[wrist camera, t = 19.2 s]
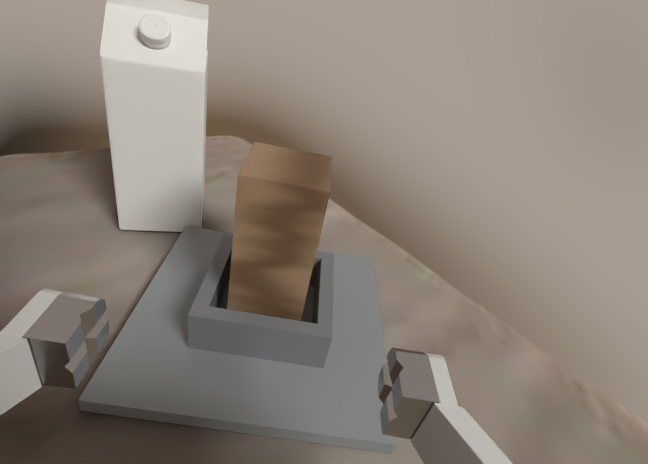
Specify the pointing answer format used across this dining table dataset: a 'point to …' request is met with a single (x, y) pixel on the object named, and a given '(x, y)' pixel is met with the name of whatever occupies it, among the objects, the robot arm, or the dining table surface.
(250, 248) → the walnut block
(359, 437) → the socket base
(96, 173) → the dining table surface
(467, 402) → the dining table surface
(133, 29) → the milk carton
